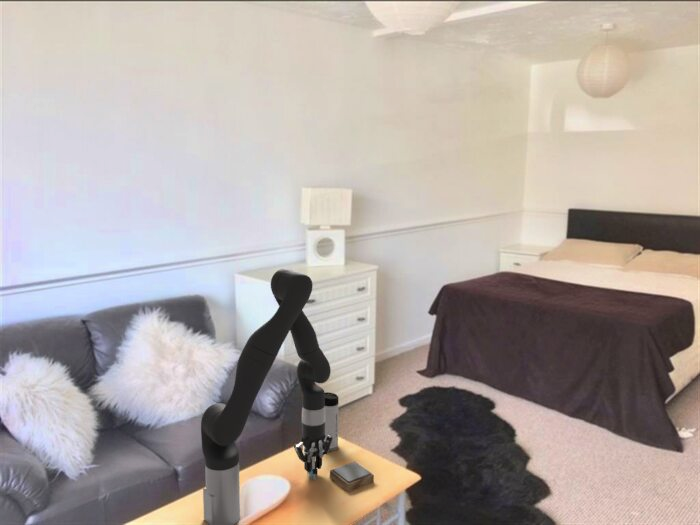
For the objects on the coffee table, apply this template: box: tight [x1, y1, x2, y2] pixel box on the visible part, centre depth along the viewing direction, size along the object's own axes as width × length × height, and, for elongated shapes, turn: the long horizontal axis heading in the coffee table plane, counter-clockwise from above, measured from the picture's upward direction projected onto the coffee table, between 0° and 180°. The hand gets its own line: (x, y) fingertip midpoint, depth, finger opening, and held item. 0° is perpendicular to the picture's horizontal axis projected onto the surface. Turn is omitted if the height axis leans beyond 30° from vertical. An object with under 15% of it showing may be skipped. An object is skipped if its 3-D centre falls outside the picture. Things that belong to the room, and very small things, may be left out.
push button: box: [303, 448, 320, 481], centre depth 181 cm, size 7×5×10 cm
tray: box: [329, 461, 375, 493], centre depth 180 cm, size 10×10×3 cm
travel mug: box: [322, 392, 340, 452], centre depth 200 cm, size 6×7×20 cm
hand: (313, 469), depth 182 cm, fingers closed on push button, 3 cm apart
